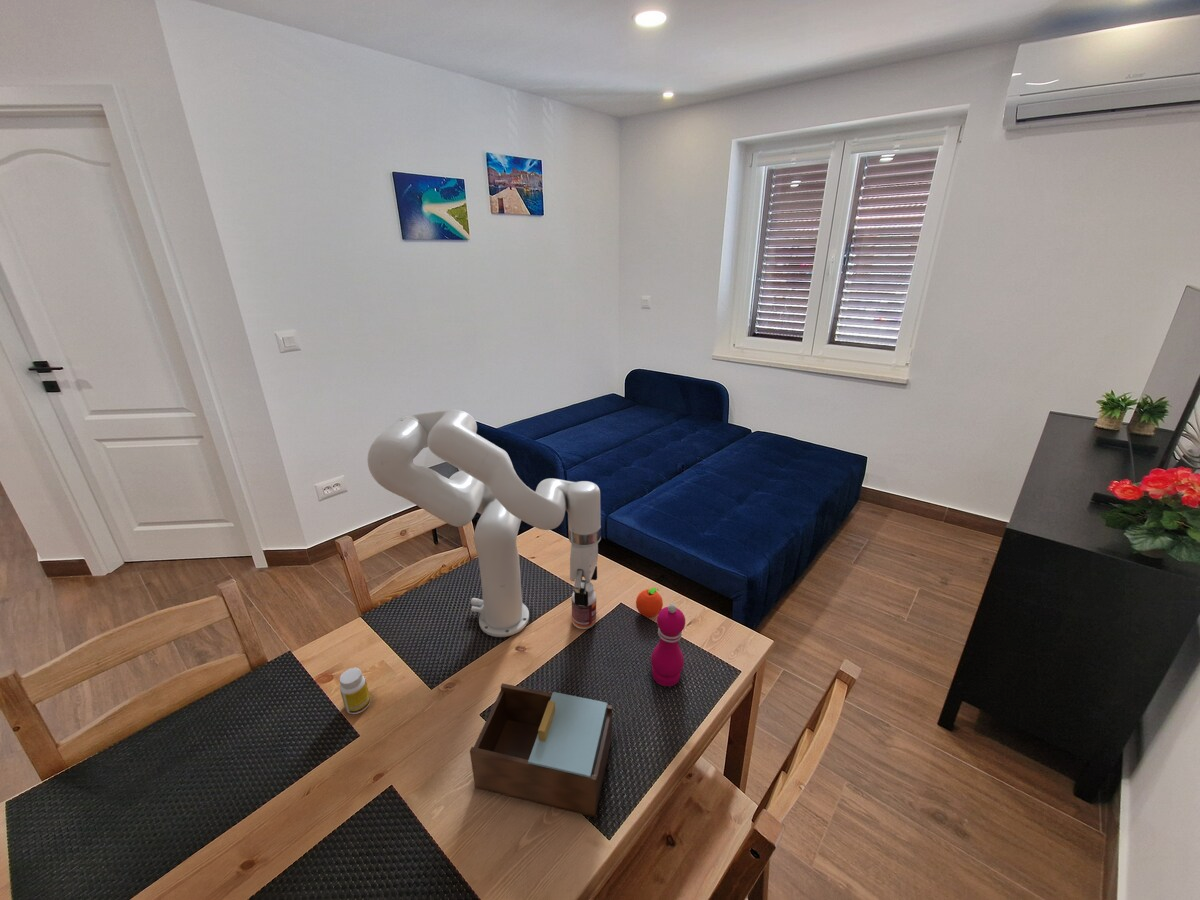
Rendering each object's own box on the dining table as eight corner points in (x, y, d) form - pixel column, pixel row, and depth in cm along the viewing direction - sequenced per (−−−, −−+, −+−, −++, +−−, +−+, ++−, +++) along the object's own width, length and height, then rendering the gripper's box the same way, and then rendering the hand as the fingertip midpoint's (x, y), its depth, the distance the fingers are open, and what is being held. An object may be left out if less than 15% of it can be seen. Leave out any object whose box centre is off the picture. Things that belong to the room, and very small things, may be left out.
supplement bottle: (375, 700, 102) (368, 671, 99) (357, 718, 98) (348, 688, 95) (359, 691, 104) (351, 662, 100) (340, 709, 100) (331, 680, 96)
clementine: (646, 598, 132) (647, 577, 129) (668, 609, 128) (670, 587, 125) (630, 615, 126) (631, 593, 123) (653, 627, 122) (655, 605, 119)
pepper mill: (681, 691, 105) (689, 620, 97) (648, 685, 106) (653, 614, 98) (682, 665, 111) (690, 596, 103) (651, 659, 113) (656, 591, 105)
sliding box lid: (528, 763, 80) (527, 751, 79) (553, 693, 92) (552, 682, 91) (590, 778, 78) (590, 765, 77) (607, 704, 90) (607, 692, 89)
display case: (474, 787, 86) (469, 750, 82) (505, 718, 99) (502, 683, 95) (595, 817, 82) (595, 780, 78) (611, 741, 94) (612, 705, 90)
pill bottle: (596, 630, 121) (597, 595, 117) (571, 630, 121) (571, 595, 116) (595, 612, 127) (596, 578, 122) (572, 612, 126) (571, 578, 122)
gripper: (578, 512, 121) (580, 568, 128) (558, 552, 106) (561, 613, 113) (607, 515, 120) (608, 571, 127) (591, 556, 104) (593, 618, 111)
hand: (586, 591), depth 120 cm, fingers open, 9 cm apart
